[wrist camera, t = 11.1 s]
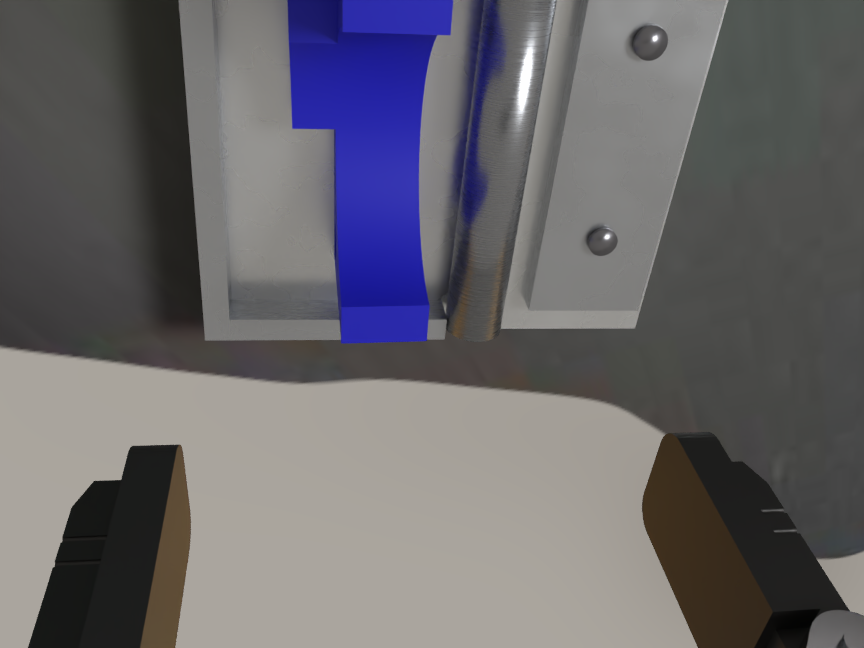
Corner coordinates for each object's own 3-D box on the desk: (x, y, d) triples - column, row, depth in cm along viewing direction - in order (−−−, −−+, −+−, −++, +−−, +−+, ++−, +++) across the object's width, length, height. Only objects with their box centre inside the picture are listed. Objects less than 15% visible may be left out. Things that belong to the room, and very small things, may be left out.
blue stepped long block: (286, -69, 26) (284, -30, 21) (425, -62, 26) (454, -22, 22) (297, 257, 33) (297, 344, 28) (407, 256, 33) (426, 341, 28)
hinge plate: (746, -116, 28) (796, -103, 25) (627, 316, 38) (653, 359, 35) (176, -172, 25) (161, -164, 22) (211, 316, 35) (204, 363, 32)
